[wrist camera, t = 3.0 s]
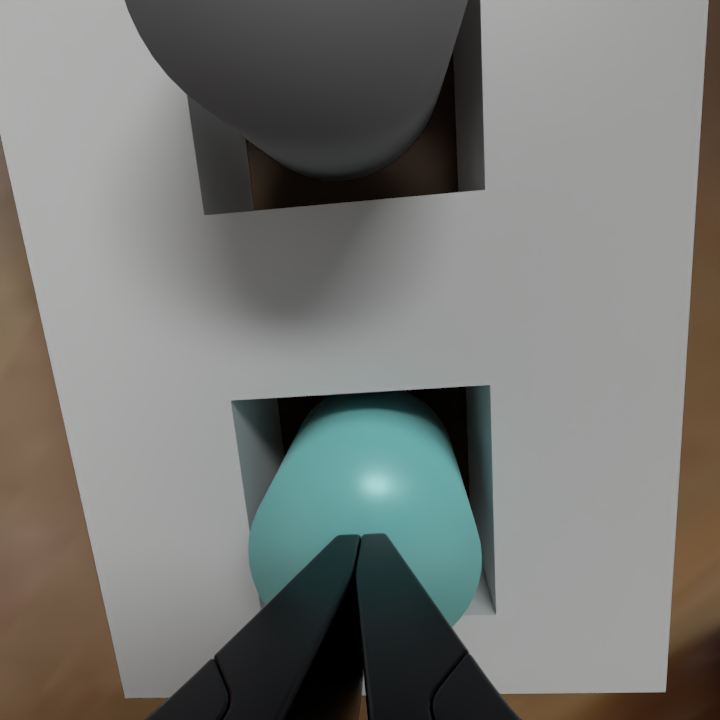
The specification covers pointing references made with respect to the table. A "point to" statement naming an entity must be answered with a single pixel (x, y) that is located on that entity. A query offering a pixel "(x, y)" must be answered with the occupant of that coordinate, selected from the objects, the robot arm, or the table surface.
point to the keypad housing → (376, 323)
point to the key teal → (371, 496)
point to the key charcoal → (309, 72)
